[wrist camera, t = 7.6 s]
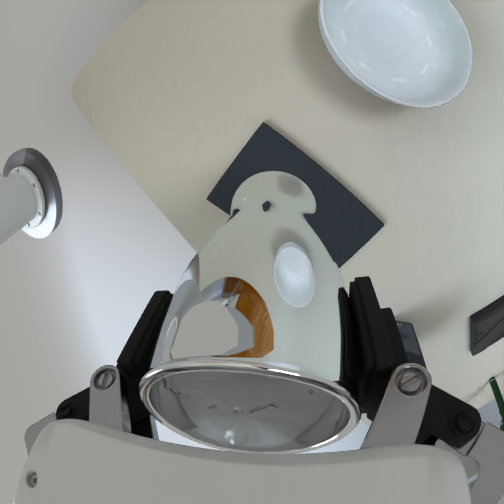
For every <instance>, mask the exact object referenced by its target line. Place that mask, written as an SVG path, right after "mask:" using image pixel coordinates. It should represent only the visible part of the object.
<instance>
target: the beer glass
mask: <svg viewBox="0 0 504 504" xmlns="http://www.w3.org/2000/svg"><path fill="white" fill-rule="evenodd" d="M317 217H318V209H317V203H316V200H315V197H314V195H313V193H312V191H311V190H310V189H309V187H308V186H307V185H306V184H305V183H304V182H303V181H302V180H300V179H299V178H297V177H295V176H293V175H291V174H289V173H285V172H281V171H266V172H261V173H258V174H255V175H253V176H251V177H250V178H248V179H247V180H245V181H244V182H243V183H242V184H241V185H240V186H239V188H238V189H237V190H236V192H235V194H234V196H233V199H232V203H231V210H230V218H229V219H228V220H227V221H226V222H225V223H224V224H223V225H222V226H221V227H220V228H219V229H218V230H217V231H216V232H215V233H214V234H213V235H212V236H211V237H210V238H209V239H208V241H207V242H206V243H205V244H204V245H203V247H202V248H201V249H200V250H199V252H198V253H197V254H196V256H195V257H194V258H193V259H192V261H191V262H190V264H189V266H188V268H187V269H186V271H185V273H184V274H183V276H182V278H181V279H180V281H179V283H178V285H177V287H176V289H175V291H174V293H173V295H172V298H171V300H170V302H169V304H168V307H167V309H166V311H165V314H164V316H163V319H162V322H161V324H160V327H159V330H158V333H157V335H156V338H155V341H154V344H153V348H152V351H151V354H150V357H149V360H148V363H147V366H146V369H145V372H144V374H143V377H142V379H141V380H140V382H139V386H138V394H139V398H140V400H141V402H142V404H143V406H144V407H145V409H146V410H147V411H148V412H149V413H150V414H151V415H152V416H153V417H154V418H155V419H156V420H157V421H159V422H160V423H162V424H163V425H164V426H166V427H167V428H169V429H170V430H172V431H174V432H176V433H177V434H179V435H181V436H183V437H186V438H188V439H190V440H193V441H195V442H198V443H201V444H204V445H207V446H210V447H213V448H217V449H221V450H226V451H232V452H244V453H264V454H294V453H301V452H307V451H311V450H315V449H318V448H322V447H325V446H327V445H330V444H332V443H335V442H336V441H339V440H340V439H342V438H344V437H345V436H347V435H348V434H349V433H351V432H352V431H353V430H354V429H355V427H356V426H357V424H358V423H359V421H360V419H361V415H362V409H361V405H360V391H359V365H358V351H357V340H356V332H355V326H354V320H353V314H352V308H351V304H350V300H349V297H348V293H347V290H346V286H345V283H344V280H343V277H342V275H341V272H340V270H339V268H338V266H337V264H336V262H335V259H334V257H333V255H332V254H331V252H330V250H329V248H328V247H327V245H326V243H325V242H324V240H323V238H322V237H321V235H320V234H319V232H318V231H317V229H316V223H317Z"/></svg>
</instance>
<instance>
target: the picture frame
mask: <svg viewBox="0 0 504 504" xmlns="http://www.w3.org/2000/svg"><path fill="white" fill-rule="evenodd" d="M503 337H504V296H502V297H501V298H499V299H498V300H496V301H494V302H493V303H491V304H490V305H488V306H486V307H485V308H483V309H481V310H480V311H478V312H476V313H475V314H473V315H471V316H470V351H471V353H472V355H473V356H474V355H476V354H478V353H480V352H481V351H483V350H485V349H486V348H487V347H489V346H490V345H492V344H493V343H495V342H497V341H498V340H500V339H501V338H503Z"/></svg>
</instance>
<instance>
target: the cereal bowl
mask: <svg viewBox="0 0 504 504" xmlns="http://www.w3.org/2000/svg"><path fill="white" fill-rule="evenodd" d="M317 14H318V23H319V28H320V32H321V36H322V38H323V41H324V43H325V45H326V47H327V50H328V51H329V53H330V54H331V56H332V58H333V59H334V61H335V62H336V63H337V65H338V66H339V67H340V68H341V69H342V70H343V72H345V73H346V75H347V76H349V77H350V78H351V79H352V80H353V81H354V82H356V83H357V84H358V85H359V86H361V87H362V88H364V89H365V90H366V91H368V92H370V93H371V94H373V95H375V96H377V97H379V98H381V99H384V100H386V101H389V102H391V103H394V104H398V105H402V106H406V107H412V108H431V107H437V106H440V105H443V104H445V103H447V102H449V101H451V100H452V99H454V98H455V97H456V96H457V95H458V94H459V93H460V92H461V91H462V90H463V89H464V87H465V85H466V84H467V82H468V79H469V77H470V73H471V69H472V61H473V54H472V46H471V41H470V37H469V34H468V31H467V28H466V26H465V24H464V22H463V20H462V18H461V16H460V14H459V13H458V11H457V10H456V8H455V7H454V5H453V4H452V3H451V1H450V0H319V2H318V13H317Z"/></svg>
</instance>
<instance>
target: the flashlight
mask: <svg viewBox="0 0 504 504" xmlns="http://www.w3.org/2000/svg"><path fill="white" fill-rule="evenodd" d="M489 382H490V385H491V387H492V390H493V393H494V396H495V399H496V401H497V404H498V407H499V412H500V414H501V416H502V421H501V425H500V430H502V431H503V432H504V401H503V398H502V395H501V392H500V390H499V387H498V384H497V382H496V379H495V377H492V378H491V379H490V380H489Z"/></svg>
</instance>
